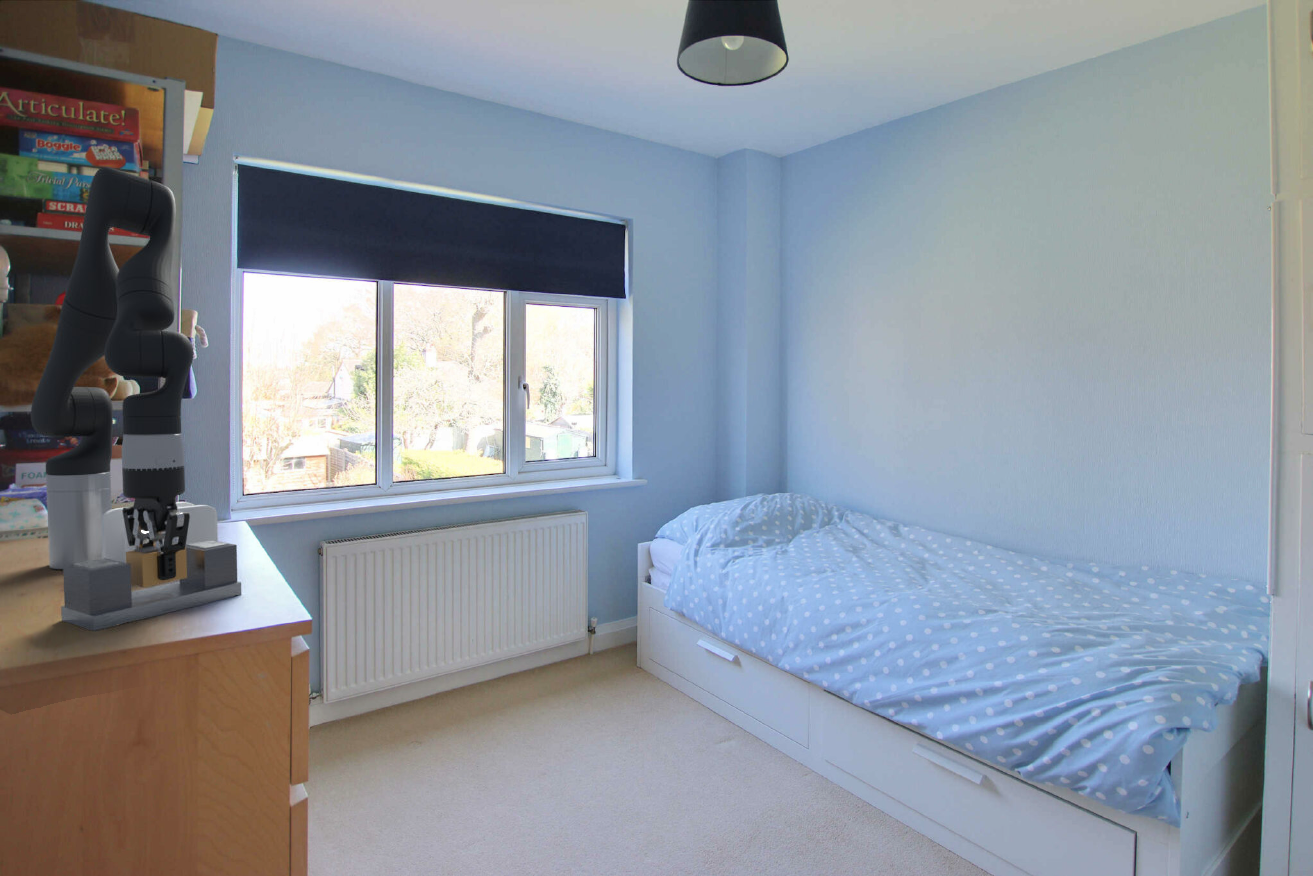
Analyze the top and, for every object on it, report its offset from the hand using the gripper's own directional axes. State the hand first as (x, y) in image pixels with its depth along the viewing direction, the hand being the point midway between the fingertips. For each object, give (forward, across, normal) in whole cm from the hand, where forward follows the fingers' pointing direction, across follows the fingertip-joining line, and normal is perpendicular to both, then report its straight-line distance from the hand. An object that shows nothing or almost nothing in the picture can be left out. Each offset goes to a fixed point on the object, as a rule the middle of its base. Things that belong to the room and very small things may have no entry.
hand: (157, 576), depth 104 cm
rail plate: (+5, 0, 0) cm, 5 cm away
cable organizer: (+5, +24, -13) cm, 28 cm away
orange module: (+1, 0, 0) cm, 1 cm away
